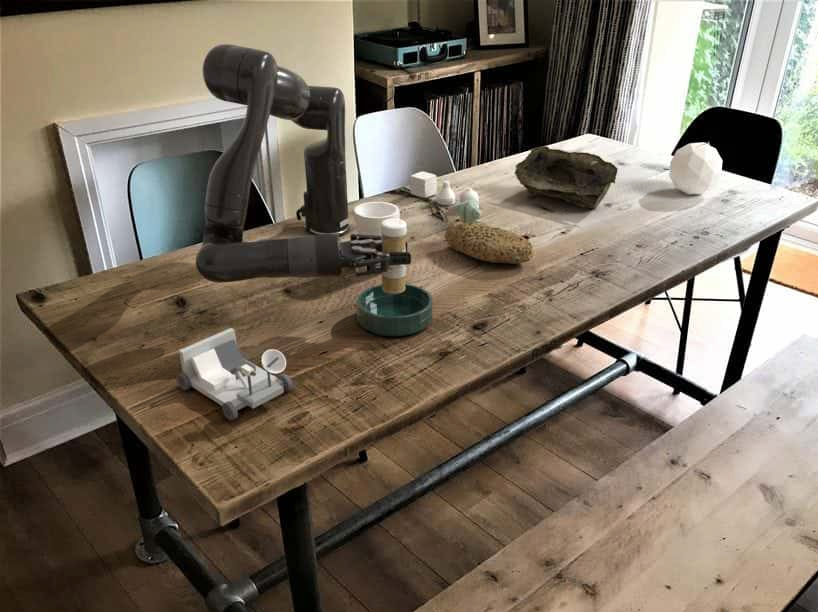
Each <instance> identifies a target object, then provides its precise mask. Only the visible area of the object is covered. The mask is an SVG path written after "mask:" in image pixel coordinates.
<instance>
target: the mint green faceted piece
mask: <svg viewBox="0 0 818 612" xmlns="http://www.w3.org/2000/svg"><path fill="white" fill-rule="evenodd" d="M478 206H479V205H478ZM478 206H477V204H476V203H475V202H474V201H472V200H467V201H465V202H463V203H460V204H459V203H456V204H453V206H452V208H453V209H454V210H455V211H456V212H457V214H458V216H459V218H460V221H461V223H469V224H471V223H473V224H476V221H477V220H478V219H479V218H480V217H481V216H482V215H483V211H482V209H480V207H479V208H478Z"/></svg>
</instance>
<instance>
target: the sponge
mask: <svg viewBox="0 0 818 612" xmlns="http://www.w3.org/2000/svg"><path fill="white" fill-rule="evenodd" d="M444 237H445V240H446V242H447V245H448V246H450V248H451V249H453V250H455V251H457V252H459V253H462V254H464V255H466V256H469V257H472V258H474V259H476V260H480V261H483V262H489V263H494V264H519V263H520V264H522V263H527V262H530V261H531V260H532V259H533V258H534V256H535V253H534V250H533V245H532V242H531V241H530V240H528V239H526V238H525V237H523V236H522V235H519V234H517V233H514V232H511V231H509V230H507V229H503V228H500V227H493V226H487V225H480V224H479V225H478V224H476V223H474V224H473V223H471V224H469V223H462V222H459V221H457V222H455V223H452V224H451V225H450V226H449V227H447V228H446V230H445V234H444Z"/></svg>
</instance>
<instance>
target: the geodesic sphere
mask: <svg viewBox="0 0 818 612" xmlns="http://www.w3.org/2000/svg"><path fill="white" fill-rule="evenodd" d="M710 144H711V143H710V141H708V142H692V143H691V142H690V143H688V144H686V145H684V146H682V147H680V148H679V149H676V150H675V153H674V154H673V157H672V158H671V160H670V162H669V178H670V180H671V182H672V183H673V185H674V187H675V189H678V190H679V191H681V192H682V193H684V194H685V195H703V194H705V193H706V192H708V191H711V190H712V189H714V188H715V187H716V186H717V183H718V182H719V179H720V178H721V176H722V168H723V159H722V157H721V156H720V154H719V152H718V150H717V148H715V147H714V146H711V145H710Z"/></svg>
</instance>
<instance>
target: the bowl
mask: <svg viewBox="0 0 818 612" xmlns="http://www.w3.org/2000/svg"><path fill="white" fill-rule="evenodd" d="M405 288H406V289H405V291H404V292H402V293H399V294H388V293H385V292H384V291H383V290H382V283H380V284H376V285H373V286H370V287H367V288H366V289H364V290H362V291H361V292H360V293H359V294H358V295H357V298H356V318H357V321H358V324H359V325H360V326H361V327H362V328H363V329H365V330H367V331H369V332H370V333H371V332H372V333H373V334H376V335H379V336H385V337H405V336H409V335H413V334H416V333H418V332H420V331H422V330H423V329H425V328H427V327H429V325H430V324H431V323H432V321H433V315H434V314H433V308H434V306H433V305H434V304H433V303H434V298H433V296H432V295H431V293H430V292H429V291H428V290H426V289H424V288H423V287H420V286H417V285H415V284H410V283H405Z"/></svg>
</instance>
